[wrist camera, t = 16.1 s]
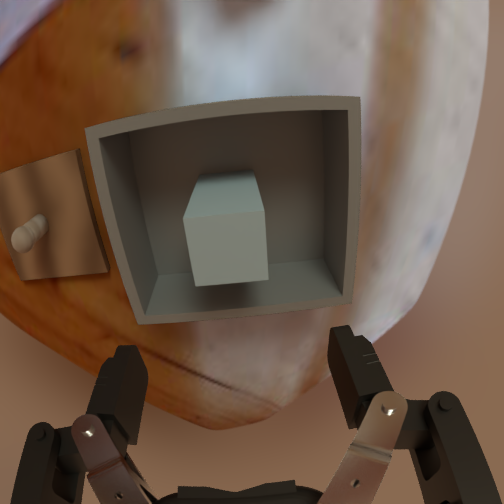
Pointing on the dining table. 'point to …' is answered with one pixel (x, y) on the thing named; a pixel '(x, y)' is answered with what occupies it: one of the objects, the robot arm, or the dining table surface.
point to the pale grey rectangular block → (226, 229)
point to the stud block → (50, 219)
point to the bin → (270, 188)
